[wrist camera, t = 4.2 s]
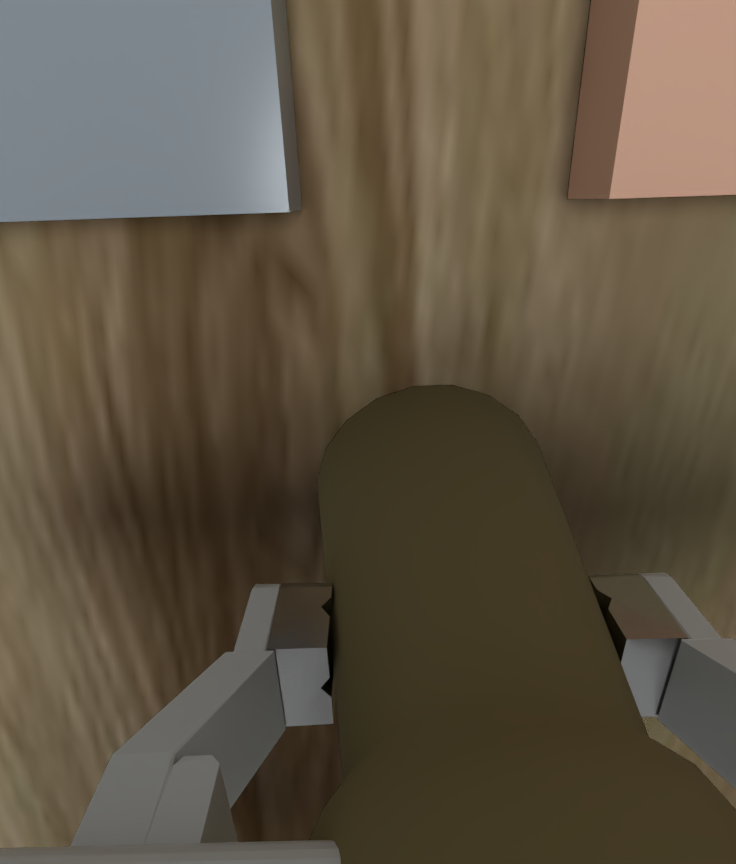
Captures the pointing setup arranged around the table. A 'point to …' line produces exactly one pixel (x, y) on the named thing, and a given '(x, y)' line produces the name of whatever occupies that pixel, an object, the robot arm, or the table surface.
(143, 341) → the table surface
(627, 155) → the terracotta tile
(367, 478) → the olive rounded tall piece
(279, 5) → the steel tile
